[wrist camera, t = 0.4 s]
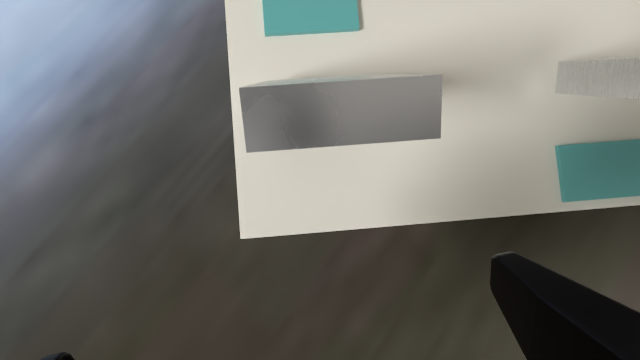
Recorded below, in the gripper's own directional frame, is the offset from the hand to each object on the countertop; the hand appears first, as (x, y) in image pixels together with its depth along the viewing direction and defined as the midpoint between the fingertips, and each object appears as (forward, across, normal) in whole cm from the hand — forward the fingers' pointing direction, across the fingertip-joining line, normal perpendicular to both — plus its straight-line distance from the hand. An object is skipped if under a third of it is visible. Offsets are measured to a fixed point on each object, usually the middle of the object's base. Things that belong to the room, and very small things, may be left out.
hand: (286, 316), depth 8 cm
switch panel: (+16, -10, +2) cm, 18 cm away
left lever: (+13, -2, -1) cm, 13 cm away
